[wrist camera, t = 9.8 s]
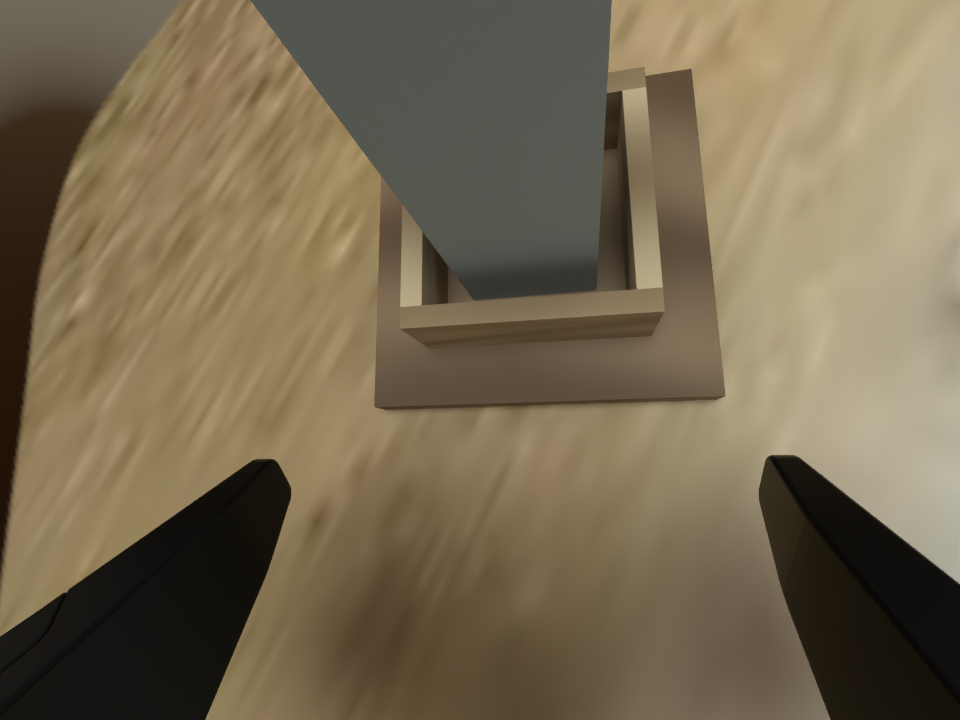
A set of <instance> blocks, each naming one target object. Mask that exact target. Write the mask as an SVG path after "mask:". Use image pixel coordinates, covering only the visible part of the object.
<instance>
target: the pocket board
mask: <svg viewBox="0 0 960 720" xmlns="http://www.w3.org/2000/svg"><path fill="white" fill-rule="evenodd" d="M724 396H725V389H724V379H723V369H722V360H721V350H720V341H719V331H718V321H717V312H716V302H715V292H714V283H713V273H712V263H711V254H710V244H709V234H708V225H707V215H706V206H705V196H704V186H703V177H702V167H701V157H700V148H699V138H698V128H697V119H696V109H695V100H694V90H693V80H692V71H691V69H687V70H681V71H675V72H668V73H662V74H656V75H649V76H645V68H644V67H641V68H635V69H629V70H623V71H617V72H611V73H608V79H607V98H606V117H605V135H604V154H603V173H602V192H601V211H600V230H599V249H598V268H597V286H596V290H594V291H582V292H569V293H557V294H544V295H532V296H519V297H507V298H494V299H482V300H473V299H472V297H471V296H470V295H469V293H468V292H467V290H466V289H465V288H464V286H463V285H462V284H461V282H460V281H459V280H458V278H457V277H456V276H455V274H454V273H453V272H452V270H451V269H450V268H449V266H448V265H447V264H446V262H445V261H444V260H443V258H442V257H441V256H440V254H439V253H438V251H437V250H436V249H435V247H434V246H433V245H432V243H431V242H430V241H429V239H428V238H427V237H426V235H425V234H424V233H423V231H422V230H421V229H420V227H419V226H418V225H417V223H416V222H415V221H414V219H413V218H412V217H411V215H410V214H409V213H408V211H407V210H406V208H405V207H404V206H403V204H402V203H401V202H400V200H399V199H398V198H397V196H396V195H395V194H394V192H393V191H392V190H391V188H390V187H389V186H388V184H387V183H386V182H385V180H384V179H383V178H382V176H381V207H380V240H379V274H378V307H377V341H376V374H375V407H376V408H381V409H418V408H451V407H483V406H516V405H549V404H581V403H614V402H647V401H680V400H712V399H719V398H722V397H724Z"/></svg>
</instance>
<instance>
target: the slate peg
mask: <svg viewBox="0 0 960 720" xmlns="http://www.w3.org/2000/svg"><path fill="white" fill-rule="evenodd" d="M251 1H252V3H253V4H254V5H255V7H256V8H257V10H258V11H259V12H260V14H261V15H262V16H263V18H264V19H265V20H266V22H267V23H268V24H269V26H270V27H271V28H272V30H273V31H274V32H275V34H276V35H277V36H278V38H279V39H280V40H281V42H282V43H283V44H284V46H285V47H286V48H287V50H288V51H289V53H290V54H291V55H292V57H293V58H294V59H295V61H296V62H297V63H298V65H299V66H300V67H301V69H302V70H303V71H304V73H305V74H306V75H307V77H308V78H309V79H310V81H311V82H312V83H313V85H314V86H315V87H316V89H317V90H318V92H319V93H320V94H321V96H322V97H323V98H324V100H325V101H326V102H327V104H328V105H329V106H330V108H331V109H332V110H333V112H334V113H335V114H336V116H337V117H338V118H339V120H340V121H341V122H342V124H343V125H344V126H345V128H346V129H347V131H348V132H349V133H350V135H351V136H352V137H353V139H354V140H355V141H356V143H357V144H358V145H359V147H360V148H361V149H362V151H363V152H364V153H365V155H366V156H367V157H368V159H369V160H370V161H371V163H372V164H373V165H374V167H375V168H376V169H377V171H378V172H379V174H380V175H381V176H382V178H383V179H384V180H385V182H386V183H387V184H388V186H389V187H390V188H391V190H392V191H393V192H394V194H395V195H396V196H397V198H398V199H399V200H400V202H401V203H402V204H403V206H404V207H405V208H406V210H407V211H408V213H409V214H410V215H411V217H412V218H413V219H414V221H415V222H416V223H417V225H418V226H419V227H420V229H421V230H422V231H423V233H424V234H425V235H426V237H427V238H428V239H429V241H430V242H431V243H432V245H433V246H434V247H435V249H436V250H437V251H438V253H439V254H440V256H441V257H442V258H443V260H444V261H445V262H446V264H447V265H448V266H449V268H450V269H451V270H452V272H453V273H454V274H455V276H456V277H457V278H458V280H459V281H460V282H461V284H462V285H463V286H464V288H465V289H466V290H467V292H468V293H469V295H470V296H471V297H472V299H473V300H482V299H494V298H507V297H519V296H532V295H544V294H557V293H569V292H582V291H594V290H596V286H597V268H598V249H599V230H600V211H601V192H602V173H603V154H604V135H605V117H606V98H607V79H608V60H609V41H610V22H611V3H612V0H251Z"/></svg>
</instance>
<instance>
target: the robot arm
mask: <svg viewBox="0 0 960 720" xmlns="http://www.w3.org/2000/svg"><path fill="white" fill-rule="evenodd" d="M290 499H291V487H290V484H289V483H288V481H287V479H286V477H285V475H284V473H283V471H282V469H281V467H280V466H279V464H278V462H277V461H275V460H273V459H256V460H253V461H251V462H250V463H248V464H247V465H245V466H244V467H243V468H241V469H240V470H238V471H237V472H235V473H234V474H233V475H231V476H230V477H228V478H227V479H225V480H224V481H223V482H221V483H220V484H218V485H217V486H215V487H214V488H213V489H211V490H210V491H208V492H207V493H205V494H204V495H203V496H201V497H200V498H198V499H197V500H196V501H194V502H193V503H191V504H190V505H188V506H187V507H186V508H184V509H183V510H181V511H180V512H178V513H177V514H176V515H174V516H173V517H171V518H170V519H168V520H167V521H166V522H164V523H163V524H161V525H160V526H158V527H157V528H156V529H154V530H153V531H151V532H150V533H148V534H147V535H146V536H144V537H143V538H141V539H140V540H139V541H137V542H136V543H134V544H133V545H131V546H130V547H129V548H127V549H126V550H124V551H123V552H121V553H120V554H119V555H117V556H116V557H114V558H113V559H111V560H110V561H109V562H107V563H106V564H104V565H103V566H101V567H100V568H99V569H97V570H96V571H94V572H93V573H91V574H90V575H89V576H87V577H86V578H84V579H83V580H82V581H80V582H79V583H77V584H76V585H74V586H73V587H72V588H70V589H69V590H68V592H67V593H63V594H61V595H60V596H59V597H57V598H56V599H54V600H53V601H52V602H50V603H49V604H47V605H46V606H44V607H43V608H42V609H40V610H39V611H37V612H36V613H34V614H33V615H31V616H30V617H28V618H27V619H26V620H24V621H23V622H21V623H20V624H18V625H17V626H15V627H14V628H12V629H11V630H9V631H8V632H7V633H5V634H4V635H2V636H0V720H205V719H206V717H207V714H208V712H209V710H210V707H211V705H212V703H213V700H214V698H215V695H216V693H217V691H218V688H219V686H220V684H221V681H222V679H223V676H224V674H225V672H226V669H227V667H228V665H229V662H230V660H231V657H232V655H233V653H234V650H235V648H236V646H237V643H238V641H239V638H240V636H241V634H242V631H243V629H244V627H245V624H246V622H247V619H248V617H249V615H250V612H251V610H252V608H253V605H254V603H255V600H256V598H257V596H258V593H259V591H260V589H261V586H262V584H263V581H264V579H265V576H266V574H267V571H268V569H269V566H270V563H271V560H272V557H273V554H274V550H275V547H276V544H277V541H278V538H279V534H280V531H281V528H282V525H283V522H284V518H285V515H286V512H287V509H288V505H289V502H290ZM759 501H760V506H761V510H762V514H763V518H764V522H765V526H766V529H767V533H768V537H769V541H770V545H771V549H772V553H773V557H774V561H775V565H776V569H777V573H778V577H779V581H780V584H781V588H782V591H783V594H784V597H785V600H786V603H787V606H788V609H789V611H790V614H791V617H792V619H793V622H794V625H795V627H796V630H797V632H798V635H799V638H800V640H801V643H802V646H803V648H804V651H805V653H806V656H807V659H808V661H809V664H810V667H811V669H812V672H813V674H814V677H815V680H816V682H817V685H818V688H819V690H820V693H821V696H822V698H823V701H824V703H825V706H826V709H827V711H828V714H829V717H830V719H831V720H960V584H959V583H958V582H957V581H955V580H954V579H953V578H952V577H950V576H949V575H948V574H946V573H945V572H944V571H943V570H941V569H940V568H939V567H938V566H936V565H935V564H934V563H932V562H931V561H930V560H929V559H927V558H926V557H925V556H924V555H922V554H921V553H920V552H919V551H917V550H916V549H915V548H913V547H912V546H911V545H910V544H908V543H907V542H906V541H905V540H903V539H902V538H901V537H900V536H898V535H897V534H896V533H894V532H893V531H892V530H891V529H889V528H888V527H887V526H886V525H884V524H883V523H882V522H881V521H879V520H878V519H877V518H875V517H874V516H873V515H872V514H870V513H869V512H868V511H867V510H865V509H864V508H863V507H861V506H860V505H859V504H858V503H856V502H855V501H854V500H853V499H851V498H850V497H849V496H848V495H846V494H845V493H844V492H842V491H841V490H840V489H839V488H837V487H836V486H835V485H834V484H832V483H831V482H830V481H829V480H827V479H826V478H825V477H823V476H822V475H821V474H820V473H818V472H817V471H816V470H815V469H813V468H812V467H811V466H810V465H808V464H807V463H806V462H804V461H803V460H802V459H801V458H799V457H797V456H794V455H771V456H769V457H767V459H766V461H765V465H764V469H763V474H762V478H761V482H760V487H759Z"/></svg>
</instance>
